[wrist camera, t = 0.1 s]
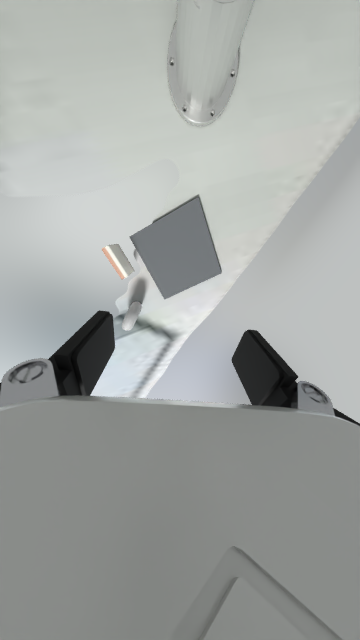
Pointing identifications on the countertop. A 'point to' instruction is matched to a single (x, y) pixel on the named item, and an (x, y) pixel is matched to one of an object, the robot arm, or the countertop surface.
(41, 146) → the countertop surface
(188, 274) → the mat
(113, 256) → the tile
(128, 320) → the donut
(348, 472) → the robot arm
